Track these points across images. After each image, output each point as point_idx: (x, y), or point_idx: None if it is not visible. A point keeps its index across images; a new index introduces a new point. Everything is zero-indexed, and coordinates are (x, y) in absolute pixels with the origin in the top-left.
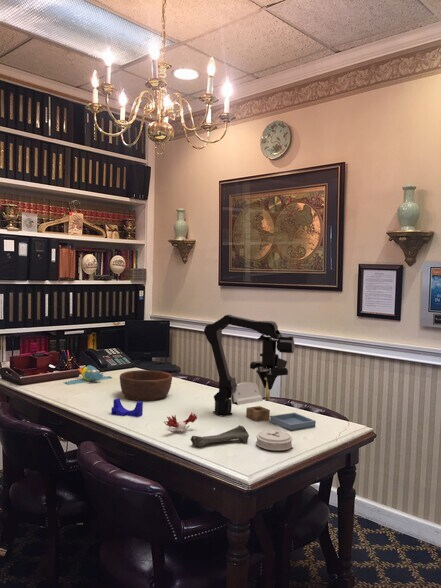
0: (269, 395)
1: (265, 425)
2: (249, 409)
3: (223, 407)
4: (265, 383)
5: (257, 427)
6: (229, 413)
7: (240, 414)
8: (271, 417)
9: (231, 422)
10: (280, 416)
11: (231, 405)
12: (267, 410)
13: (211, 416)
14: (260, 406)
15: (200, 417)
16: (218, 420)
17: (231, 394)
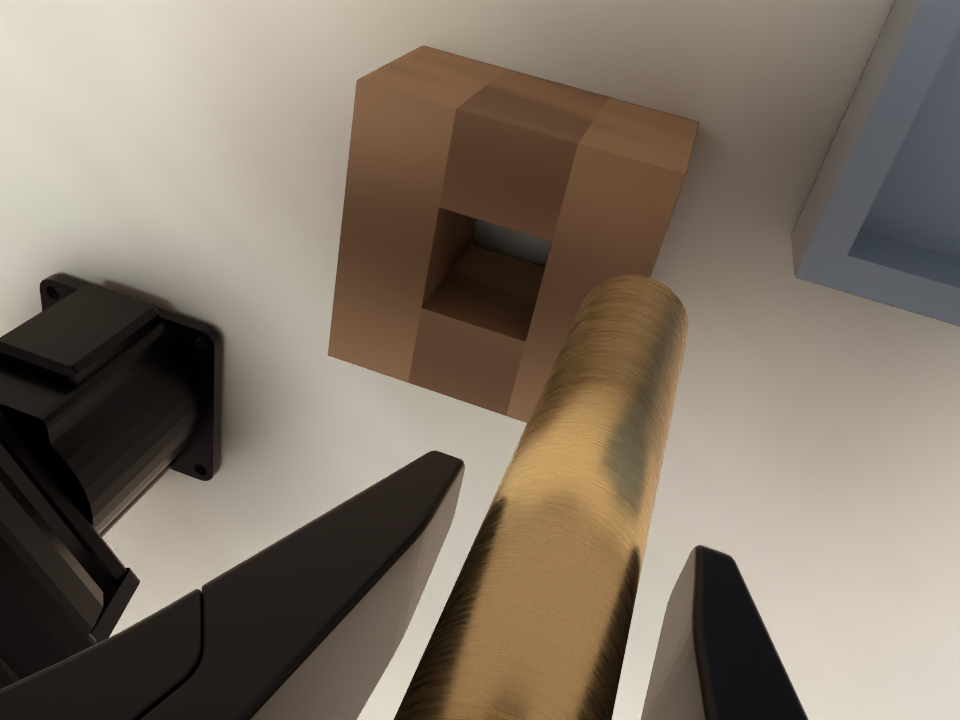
0: (672, 406)
1: (828, 412)
2: (408, 377)
3: (144, 487)
4: (388, 633)
5: (789, 539)
6: (202, 369)
7: (253, 242)
8: (830, 281)
9: (448, 559)
10: (935, 64)
11: (99, 349)
12: (664, 228)
13: (182, 520)
14: (388, 98)
15: (170, 597)
16: None
17: (93, 625)
